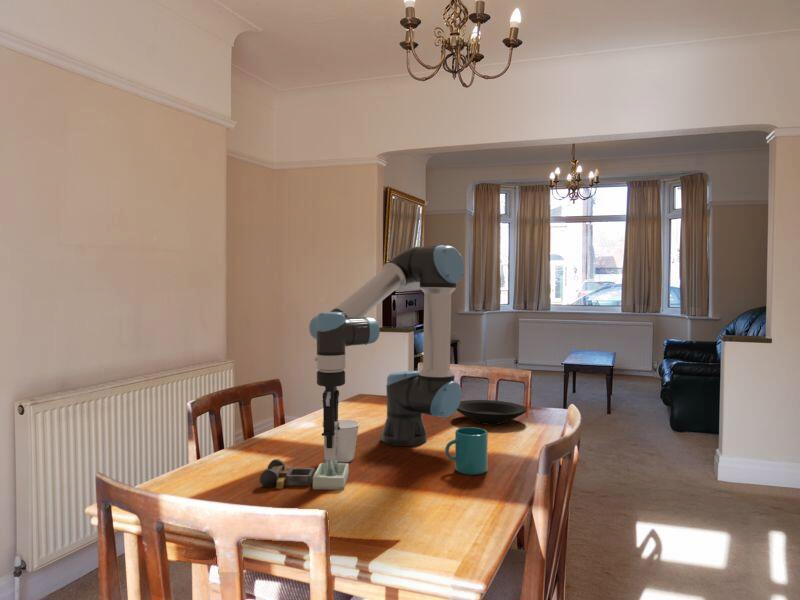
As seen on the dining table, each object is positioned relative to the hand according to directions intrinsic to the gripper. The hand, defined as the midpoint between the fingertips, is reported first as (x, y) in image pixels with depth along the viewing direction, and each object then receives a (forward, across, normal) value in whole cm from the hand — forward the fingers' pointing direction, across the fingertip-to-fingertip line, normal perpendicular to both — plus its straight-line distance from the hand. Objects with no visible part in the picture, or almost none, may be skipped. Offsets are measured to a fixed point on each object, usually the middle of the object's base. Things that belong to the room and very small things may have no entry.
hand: (331, 456), depth 160 cm
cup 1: (+7, -19, +1) cm, 20 cm away
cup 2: (+7, -10, +37) cm, 39 cm away
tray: (+7, 0, 0) cm, 7 cm away
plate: (+7, -68, +51) cm, 85 cm away
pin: (+5, 0, 0) cm, 5 cm away
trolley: (+7, 0, -11) cm, 13 cm away
